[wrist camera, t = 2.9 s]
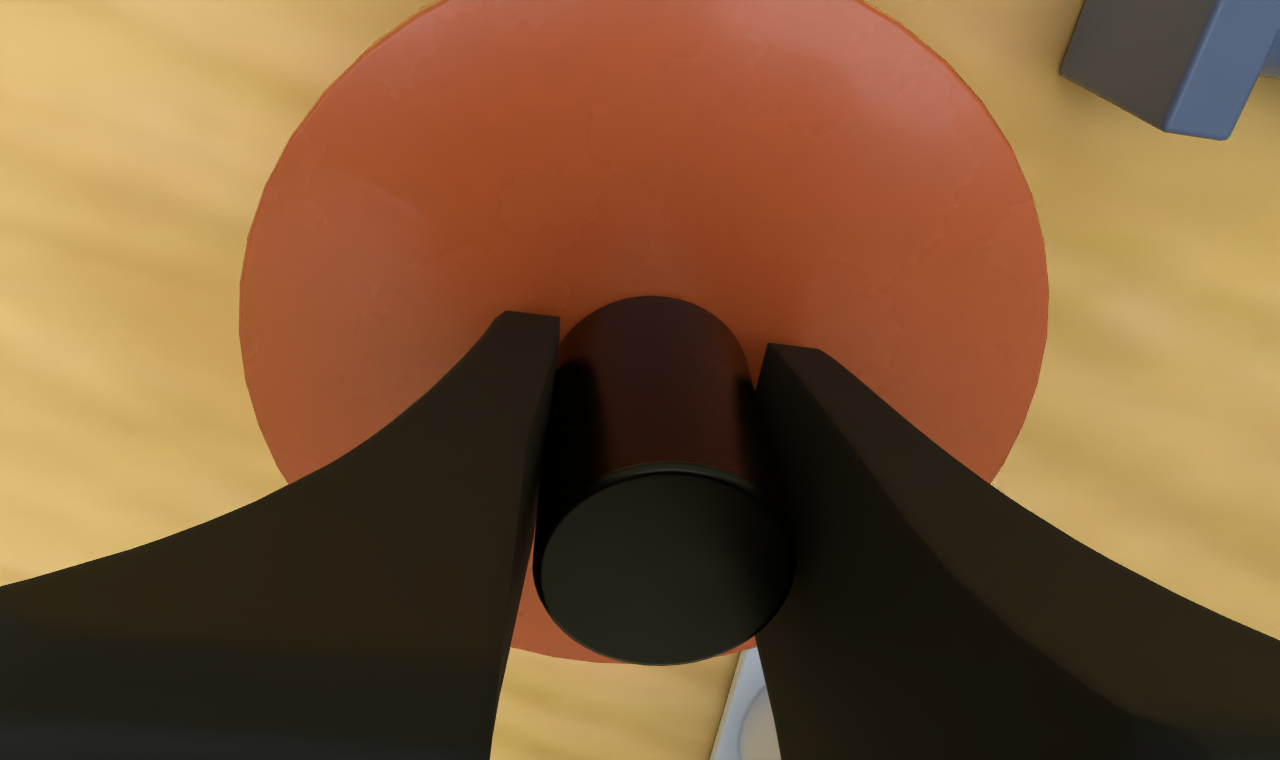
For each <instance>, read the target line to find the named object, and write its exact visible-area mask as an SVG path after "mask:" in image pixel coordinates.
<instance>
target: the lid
mask: <svg viewBox="0 0 1280 760" xmlns="http://www.w3.org/2000/svg"><path fill="white" fill-rule="evenodd" d="M1048 300H1049V285H1048V275H1047V265H1046V255H1045V245H1044V239H1043V235H1042V232H1041V228H1040V224H1039V220H1038V216H1037V212H1036V208H1035V205H1034V201H1033V197H1032V193H1031V191H1030V189H1029V187H1028V184H1027V182H1026V180H1025V177H1024V175H1023V173H1022V170H1021V168H1020V166H1019V164H1018V161H1017V159H1016V157H1015V154H1014V152H1013V150H1012V148H1011V146H1010V144H1009V143H1008V141H1007V140H1006V138H1005V136H1004V135H1003V133H1002V132H1001V130H1000V129H999V127H998V125H997V124H996V122H995V121H994V119H993V118H992V116H991V114H990V113H989V111H988V110H987V108H986V107H985V105H984V104H983V102H982V101H981V100H980V99H979V97H978V96H977V95H976V94H975V93H974V92H973V91H972V90H971V88H970V87H969V86H968V85H967V84H966V83H965V82H964V81H963V79H962V78H961V77H960V76H959V75H958V74H957V73H956V72H955V70H954V69H953V68H952V67H951V66H950V65H949V64H948V63H947V61H946V60H945V59H943V58H942V57H941V56H940V55H938V54H937V53H936V52H935V51H934V50H932V49H931V48H930V47H929V46H928V45H926V44H925V43H924V42H923V41H921V40H920V39H919V38H918V37H917V36H915V35H914V34H913V33H912V32H911V31H909V30H908V29H907V28H906V27H904V26H903V25H902V24H901V23H899V22H898V21H896V20H895V19H893V18H892V17H890V16H889V15H887V14H885V13H884V12H882V11H880V10H879V9H877V8H875V7H874V6H872V5H870V4H869V3H867V2H865V1H864V0H435V1H433V2H431V3H429V4H427V5H425V6H424V7H422V8H421V9H419V10H418V11H416V12H415V13H414V14H412V15H411V16H410V17H408V18H407V19H405V20H404V21H403V22H401V23H400V24H399V25H397V26H396V27H394V28H393V29H392V30H390V31H389V32H388V33H386V34H385V35H383V36H382V37H381V38H379V39H378V40H377V41H375V42H374V43H373V44H372V45H371V46H370V47H369V48H368V49H367V50H366V51H365V52H364V53H363V54H362V55H361V56H360V57H359V58H358V59H357V60H356V61H355V62H354V63H353V64H352V65H351V66H350V67H349V68H348V69H347V70H346V71H345V72H344V73H342V74H341V75H340V76H339V77H338V78H337V79H336V80H335V81H334V82H333V83H332V84H331V85H330V86H329V87H328V88H327V89H326V90H325V91H324V93H323V94H322V95H321V97H320V98H319V99H318V101H317V102H316V103H315V105H314V106H313V107H312V109H311V110H310V111H309V113H308V114H307V115H306V117H305V118H304V119H303V121H302V122H301V123H300V125H299V126H298V127H297V129H296V130H295V131H294V133H293V134H292V136H291V137H290V139H289V141H288V143H287V145H286V146H285V148H284V150H283V152H282V154H281V156H280V158H279V160H278V162H277V163H276V165H275V167H274V169H273V171H272V173H271V175H270V177H269V179H268V181H267V182H266V184H265V187H264V190H263V193H262V196H261V199H260V202H259V205H258V208H257V210H256V213H255V216H254V219H253V222H252V225H251V228H250V231H249V234H248V239H247V245H246V251H245V257H244V262H243V268H242V274H241V280H240V300H239V336H240V344H241V351H242V358H243V366H244V373H245V380H246V384H247V387H248V391H249V394H250V397H251V401H252V404H253V408H254V411H255V415H256V418H257V421H258V425H259V427H260V429H261V432H262V434H263V436H264V438H265V440H266V443H267V445H268V447H269V449H270V452H271V454H272V456H273V458H274V460H275V463H276V465H277V467H278V468H279V470H280V472H281V473H282V475H283V476H284V478H285V480H286V481H287V483H288V484H291V483H293V482H295V481H297V480H299V479H301V478H303V477H305V476H307V475H309V474H310V473H312V472H314V471H316V470H318V469H320V468H322V467H324V466H326V465H328V464H330V463H331V462H333V461H335V460H336V459H338V458H340V457H341V456H343V455H344V454H346V453H348V452H349V451H351V450H352V449H354V448H355V447H357V446H358V445H360V444H361V443H363V442H364V441H366V440H367V439H368V438H370V437H371V436H373V435H374V434H375V433H377V432H378V431H379V430H381V429H382V428H383V427H385V426H386V425H387V424H389V423H390V422H391V421H393V420H394V419H395V418H396V417H397V416H399V415H400V414H401V413H402V412H403V411H405V410H406V409H407V408H408V407H409V406H411V405H412V404H413V403H414V402H415V401H417V400H418V399H419V398H420V397H421V396H423V395H424V394H425V393H426V392H427V391H428V390H430V389H431V388H432V387H433V386H434V385H435V384H436V383H437V382H438V381H439V380H440V379H441V378H442V377H443V376H444V375H445V374H446V373H447V372H448V371H449V370H450V369H451V368H452V367H453V366H454V365H455V364H456V363H457V362H458V361H459V360H460V359H462V357H463V356H464V355H465V354H466V353H467V352H468V351H469V350H470V349H471V348H472V347H473V345H474V344H475V343H476V342H477V341H478V340H479V339H480V337H481V336H482V335H483V334H484V333H485V331H486V330H487V329H488V327H489V326H490V325H491V323H492V322H493V320H494V319H495V318H496V317H497V316H499V315H500V314H502V313H503V312H504V311H506V310H508V311H516V312H524V313H532V314H540V315H549V316H557V317H560V339H559V347H558V354H557V362H556V370H555V378H554V385H553V393H552V401H551V409H550V416H549V424H548V429H547V434H546V439H545V444H544V450H543V456H542V462H541V472H540V483H539V494H538V505H537V516H536V525H535V532H534V539H533V544H532V548H531V553H530V558H529V562H528V567H527V572H526V576H525V581H524V586H523V590H522V595H521V599H520V604H519V609H518V613H517V618H516V622H515V627H514V632H513V636H512V641H511V645H510V647H513V648H517V649H521V650H526V651H530V652H534V653H539V654H543V655H547V656H552V657H558V658H565V659H573V660H580V661H588V662H596V663H621V664H638V665H648V666H669V665H681V664H687V663H693V662H697V661H701V660H705V659H709V658H712V657H717V656H723V655H728V654H732V653H736V652H740V651H744V650H748V649H752V648H756V647H757V644H756V640H755V635H756V634H757V633H758V632H760V631H761V630H762V629H763V628H764V627H765V626H766V625H767V624H768V623H769V622H770V621H771V620H772V619H773V618H774V617H775V615H776V614H777V613H778V612H779V610H780V609H781V607H782V605H783V604H784V602H785V600H786V599H787V597H788V594H789V592H790V589H791V587H792V584H793V581H794V577H795V572H796V568H797V547H796V540H795V536H794V533H793V529H792V525H791V522H790V518H789V514H788V511H787V507H786V503H785V500H784V496H783V492H782V489H781V485H780V481H779V478H778V474H777V470H776V467H775V463H774V459H773V456H772V452H771V448H770V445H769V441H768V437H767V434H766V430H765V426H764V423H763V419H762V415H761V412H760V408H759V404H758V401H757V397H756V393H755V390H756V386H757V382H758V378H759V374H760V370H761V366H762V363H763V359H764V355H765V351H766V347H767V343H776V344H784V345H792V346H800V347H808V348H816V349H820V350H822V351H823V352H825V353H826V354H828V355H829V356H831V357H832V358H833V359H835V360H836V361H837V362H839V363H840V364H841V365H842V366H844V367H845V368H846V369H847V370H848V371H850V372H851V373H852V374H853V375H855V376H856V377H857V378H858V379H859V380H860V381H862V382H863V383H864V384H865V385H866V386H868V387H869V388H870V389H871V390H872V391H873V392H875V393H876V394H877V395H878V396H879V397H880V398H882V399H883V400H884V401H885V402H886V403H888V404H889V405H890V406H891V407H892V408H893V409H895V410H896V411H897V412H898V413H899V414H900V415H902V416H903V417H904V418H905V419H907V420H908V421H909V422H910V423H911V424H913V425H914V426H915V427H916V428H917V429H919V430H920V431H921V432H922V433H924V434H925V435H926V436H927V437H928V438H930V439H931V440H932V441H933V442H935V443H936V444H937V445H938V446H940V447H941V448H942V449H944V450H945V451H946V452H947V453H949V454H950V455H951V456H953V457H954V458H955V459H956V460H958V461H959V462H961V463H962V464H963V465H965V466H966V467H967V468H969V469H970V470H971V471H973V472H974V473H975V474H977V475H978V476H980V477H981V478H982V479H984V480H985V481H986V482H988V483H989V484H991V482H992V481H993V479H994V478H995V476H996V475H997V473H998V472H999V470H1000V469H1001V467H1002V466H1003V464H1004V462H1005V460H1006V458H1007V456H1008V454H1009V452H1010V450H1011V448H1012V446H1013V444H1014V442H1015V440H1016V438H1017V436H1018V434H1019V432H1020V430H1021V428H1022V426H1023V423H1024V421H1025V418H1026V415H1027V412H1028V409H1029V406H1030V403H1031V401H1032V398H1033V395H1034V392H1035V389H1036V386H1037V383H1038V378H1039V373H1040V368H1041V363H1042V358H1043V353H1044V348H1045V343H1046V338H1047V319H1048Z"/></svg>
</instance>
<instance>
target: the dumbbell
mask: <svg viewBox="0 0 1280 760" xmlns="http://www.w3.org/2000/svg"><path fill="white" fill-rule="evenodd" d="M1060 75H1062V76H1063V77H1065V78H1067V79H1068V80H1070V81H1072V82H1074V83H1076V84H1078V85H1079V86H1081V87H1083V88H1085V89H1087V90H1088V91H1090V92H1092V93H1094V94H1096V95H1098V96H1099V97H1101V98H1103V99H1105V100H1107V101H1109V102H1110V103H1112V104H1114V105H1116V106H1118V107H1119V108H1121V109H1123V110H1125V111H1127V112H1129V113H1130V114H1132V115H1134V116H1136V117H1138V118H1139V119H1141V120H1143V121H1145V122H1147V123H1149V124H1150V125H1152V126H1154V127H1156V128H1158V129H1159V130H1161V131H1163V132H1167V133H1173V134H1180V135H1186V136H1193V137H1199V138H1206V139H1212V140H1218V141H1221V140H1227V139H1228V138H1229V137H1230V135H1231V133H1232V131H1233V129H1234V127H1235V125H1236V122H1237V120H1238V118H1239V116H1240V114H1241V112H1242V110H1243V108H1244V106H1245V103H1246V101H1247V99H1248V97H1249V95H1250V93H1251V91H1252V89H1253V86H1254V84H1255V82H1256V80H1257V78H1258V76H1264V77H1270V78H1276V79H1280V0H1086V1H1085V4H1084V6H1083V9H1082V12H1081V15H1080V17H1079V20H1078V23H1077V25H1076V28H1075V31H1074V34H1073V36H1072V39H1071V42H1070V44H1069V47H1068V50H1067V53H1066V55H1065V58H1064V61H1063V64H1062V66H1061V69H1060Z"/></svg>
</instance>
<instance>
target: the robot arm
mask: <svg viewBox="0 0 1280 760" xmlns="http://www.w3.org/2000/svg"><path fill="white" fill-rule="evenodd" d="M559 339H560V317H557V316H549V315H540V314H532V313H524V312H516V311H508V310H506V311H504V312H503V313H502V314H500V315H499V316H497V317H496V318H495V319H494V320H493V322H492V323H491V325H490V326H489V327H488V329H487V330H486V331H485V333H484V334H483V335H482V336H481V337H480V339H479V340H478V341H477V342H476V343H475V344H474V345H473V347H472V348H471V349H470V350H469V351H468V352H467V353H466V354H465V355H464V356H463V357H462V359H460V360H459V361H458V362H457V363H456V364H455V365H454V366H453V367H452V368H451V369H450V370H449V371H448V372H447V373H446V374H445V375H444V376H443V377H442V378H441V379H440V380H439V381H438V382H437V383H436V384H435V385H434V386H433V387H432V388H431V389H430V390H428V391H427V392H426V393H425V394H424V395H423V396H421V397H420V398H419V399H418V400H417V401H415V402H414V403H413V404H412V405H411V406H409V407H408V408H407V409H406V410H405V411H403V412H402V413H401V414H400V415H399V416H397V417H396V418H395V419H394V420H393V421H391V422H390V423H389V424H387V425H386V426H385V427H383V428H382V429H381V430H379V431H378V432H377V433H375V434H374V435H373V436H371V437H370V438H368V439H367V440H366V441H364V442H363V443H361V444H360V445H358V446H357V447H355V448H354V449H352V450H351V451H349V452H348V453H346V454H344V455H343V456H341V457H340V458H338V459H336V460H335V461H333V462H331V463H330V464H328V465H326V466H324V467H322V468H320V469H318V470H316V471H314V472H312V473H310V474H309V475H307V476H305V477H303V478H301V479H299V480H297V481H295V482H293V483H291V484H289V485H287V486H285V487H283V488H281V489H279V490H277V491H275V492H273V493H271V494H269V495H267V496H265V497H263V498H261V499H259V500H257V501H255V502H253V503H251V504H248V505H246V506H244V507H241V508H239V509H237V510H234V511H232V512H229V513H227V514H225V515H222V516H220V517H218V518H215V519H213V520H210V521H208V522H205V523H203V524H200V525H197V526H195V527H192V528H189V529H187V530H184V531H181V532H179V533H176V534H173V535H171V536H168V537H165V538H163V539H160V540H157V541H154V542H151V543H148V544H145V545H142V546H139V547H136V548H133V549H130V550H127V551H123V552H120V553H117V554H113V555H110V556H106V557H103V558H100V559H96V560H93V561H89V562H86V563H83V564H79V565H76V566H72V567H69V568H66V569H62V570H59V571H55V572H52V573H49V574H45V575H42V576H38V577H35V578H32V579H28V580H24V581H20V582H16V583H12V584H8V585H4V586H1V587H0V760H490V753H491V744H492V736H493V730H494V725H495V719H496V713H497V707H498V701H499V696H500V692H501V687H502V682H503V678H504V673H505V669H506V664H507V659H508V655H509V650H510V645H511V641H512V636H513V632H514V627H515V622H516V618H517V613H518V609H519V604H520V599H521V595H522V590H523V586H524V581H525V576H526V572H527V567H528V562H529V558H530V553H531V548H532V544H533V539H534V532H535V525H536V516H537V505H538V494H539V483H540V472H541V462H542V456H543V450H544V444H545V439H546V434H547V429H548V424H549V416H550V409H551V401H552V393H553V385H554V378H555V370H556V362H557V354H558V347H559ZM755 393H756V397H757V401H758V404H759V408H760V412H761V415H762V419H763V423H764V426H765V430H766V434H767V437H768V441H769V445H770V448H771V452H772V456H773V459H774V463H775V467H776V470H777V474H778V478H779V481H780V485H781V489H782V492H783V496H784V500H785V503H786V507H787V511H788V514H789V518H790V522H791V525H792V529H793V533H794V536H795V540H796V547H797V568H796V572H795V577H794V581H793V584H792V587H791V589H790V592H789V594H788V597H787V599H786V600H785V602H784V604H783V605H782V607H781V609H780V610H779V612H778V613H777V614H776V615H775V617H774V618H773V619H772V620H771V621H770V622H769V623H768V624H767V625H766V626H765V627H764V628H763V629H762V630H761V631H760V632H758V633H757V634H756V635H755V640H756V644H757V647H756V648H752V649H748V650H744V651H741V653H740V657H739V660H738V664H737V667H736V671H735V674H734V677H733V681H732V684H731V688H730V691H729V695H728V698H727V701H726V705H725V708H724V712H723V715H722V719H721V722H720V725H719V729H718V732H717V736H716V739H715V743H714V746H713V750H712V753H711V756H710V760H1280V640H1277V639H1275V638H1273V637H1270V636H1268V635H1266V634H1263V633H1261V632H1259V631H1256V630H1254V629H1252V628H1249V627H1247V626H1245V625H1243V624H1240V623H1238V622H1236V621H1233V620H1231V619H1229V618H1226V617H1224V616H1222V615H1220V614H1218V613H1216V612H1214V611H1212V610H1209V609H1207V608H1205V607H1203V606H1201V605H1199V604H1197V603H1195V602H1192V601H1190V600H1188V599H1186V598H1184V597H1182V596H1180V595H1178V594H1176V593H1174V592H1172V591H1170V590H1168V589H1166V588H1164V587H1162V586H1160V585H1158V584H1156V583H1154V582H1153V581H1151V580H1149V579H1147V578H1145V577H1143V576H1141V575H1139V574H1137V573H1135V572H1133V571H1131V570H1129V569H1128V568H1126V567H1124V566H1122V565H1120V564H1118V563H1116V562H1114V561H1112V560H1110V559H1109V558H1107V557H1105V556H1103V555H1102V554H1100V553H1098V552H1096V551H1094V550H1093V549H1091V548H1089V547H1087V546H1086V545H1084V544H1082V543H1080V542H1079V541H1077V540H1075V539H1074V538H1072V537H1070V536H1069V535H1067V534H1066V533H1064V532H1062V531H1061V530H1059V529H1058V528H1056V527H1054V526H1053V525H1051V524H1050V523H1048V522H1046V521H1045V520H1043V519H1042V518H1040V517H1038V516H1037V515H1035V514H1034V513H1032V512H1030V511H1029V510H1027V509H1025V508H1024V507H1022V506H1021V505H1019V504H1018V503H1016V502H1015V501H1013V500H1012V499H1010V498H1009V497H1008V496H1006V495H1005V494H1003V493H1002V492H1000V491H999V490H997V489H996V488H994V487H993V486H992V485H990V484H989V483H988V482H986V481H985V480H984V479H982V478H981V477H980V476H978V475H977V474H975V473H974V472H973V471H971V470H970V469H969V468H967V467H966V466H965V465H963V464H962V463H961V462H959V461H958V460H956V459H955V458H954V457H953V456H951V455H950V454H949V453H947V452H946V451H945V450H944V449H942V448H941V447H940V446H938V445H937V444H936V443H935V442H933V441H932V440H931V439H930V438H928V437H927V436H926V435H925V434H924V433H922V432H921V431H920V430H919V429H917V428H916V427H915V426H914V425H913V424H911V423H910V422H909V421H908V420H907V419H905V418H904V417H903V416H902V415H900V414H899V413H898V412H897V411H896V410H895V409H893V408H892V407H891V406H890V405H889V404H888V403H886V402H885V401H884V400H883V399H882V398H880V397H879V396H878V395H877V394H876V393H875V392H873V391H872V390H871V389H870V388H869V387H868V386H866V385H865V384H864V383H863V382H862V381H860V380H859V379H858V378H857V377H856V376H855V375H853V374H852V373H851V372H850V371H848V370H847V369H846V368H845V367H844V366H842V365H841V364H840V363H839V362H837V361H836V360H835V359H833V358H832V357H831V356H829V355H828V354H826V353H825V352H823V351H822V350H820V349H816V348H808V347H800V346H792V345H784V344H776V343H767V347H766V351H765V355H764V359H763V363H762V366H761V370H760V374H759V378H758V382H757V386H756V390H755Z"/></svg>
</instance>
